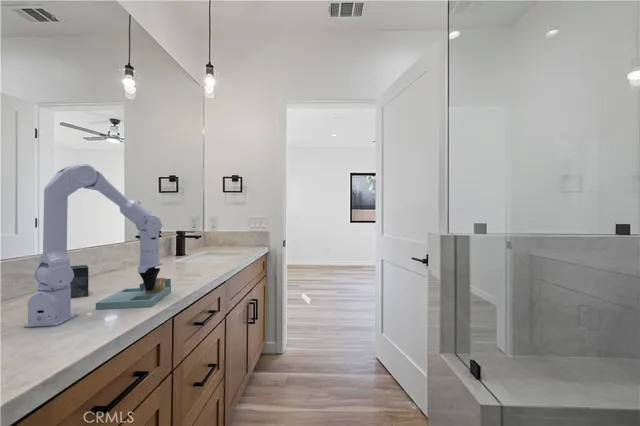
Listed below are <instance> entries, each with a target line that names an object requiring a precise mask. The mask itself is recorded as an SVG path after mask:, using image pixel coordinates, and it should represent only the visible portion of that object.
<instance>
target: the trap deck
mask: <svg viewBox="0 0 640 426" xmlns="http://www.w3.org/2000/svg"><path fill="white" fill-rule="evenodd" d="M171 280H172V278H165V289H164V290H162V291H161V292H146V293H145V285H144V282H143V281H142V282H141V283H139V287H131V288H129V287H128V288H123V289H121V290H119V291H117V292H115V293H113V294H110V295H109V296H107V297H105V298H103V299H101V300H99V301H97V302H95V310H98V311H99V310H115V309H116V310H117V309H134V308H137V309H138V308H152V307H153V306H155V305H156V304H157V303H159V302H160V301H162V300H163V299H164V298H165V297H166V296H168V295H169V294H170V293H171V292H172V281H171Z"/></svg>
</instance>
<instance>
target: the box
mask: <svg viewBox="0 0 640 426" xmlns="http://www.w3.org/2000/svg"><path fill="white" fill-rule="evenodd" d="M70 266H71V268H72V270H73V272H74V278H73V280H72V281H71V283H70V284H71V299H77V298H85V297H88V296H89V266H88V265H87V264H82V265H81V264H80V265H70Z"/></svg>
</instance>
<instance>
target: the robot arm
mask: <svg viewBox="0 0 640 426" xmlns="http://www.w3.org/2000/svg"><path fill="white" fill-rule="evenodd" d="M82 188H83V189H85V190H86V189H87V190H91V191H98V192H99V193H100V194H102V195H103V196H104V197H106V198H107V199H108V200H110V201H111V202H113V203H114V204H115V205H116V206H118V207H119V212H120V214H122V215H123V216H124V217H126V218H127V219H128V220H129V221H130V222H132V223H133V224H134V225H135V228H136V229H137V231H139V265H138V266H137V273H138V274H139V275H140V277H141V279H142V283H143V282H144V285H145V289H146V291H152V290H154V286H155V282H156V278H158V275H159V273H160V271H161V268H160V266H162V265H163V262H161V261H160V259H159V258H160V244H159V243H160V242H159V241H160V240H159V239H160V237H159V235H160V231H161V230H162V227H163V223H162V222H161V219H160V218H159V217H158V216H156V215H152V211H150V210H147V209H146V208H145V207H144V206H142V205H141V202H140V201H139V200H135V199H128V198H127V197H126V196H125V195H124V194H123V193H122V192H121V191H120V190H119V189H117V188H116V187H115V186H114V185H113V184H112V183H111V182H110V181H109V180H108V179H107V178H105V176H104V175H103V174H102V172H100V171H98V170H96V169H95V168H94V167H93V166H92V165H90V164H88V163H77V164H76V165H72V166H69V165H68V166H67V167H64V168H62V169H60V170H57V171H56V172H55V175H54V176H53V178H52V179H51V180H50V181H49V182H48V183H47V185H45V187H44V190H43V228H42V229H43V232H42V237H43V238H42V254H41V256H40V257H39V260H38V261H39V262H38V265H37V267H36V269H35V271H34V280H35V281H36V282H37V283H38V285H37V287H36V292H35V293H34V294H33V295H32V296H30V298H29V300H28V301H27V302H28V303H27V323H26V324H24V326H23V327H24V328H34V327H50V326H59V325H60V324H61V325H62V324H63V323H65V322H67V321H69V320H71V319H72V318H74V317H76V316H78V315H79V313H78V312H72V303H71V300H72V298H71V284H70V283H71V281H72V280H73V278H74V272H73V270H72V268H71V266H72V265H71V259H70V256H69V255H68V250H67V249H68V206H69V205H68V203H69V201H68V199H69V198H68V197H70V196H71V195H72V194H73V193H75V192H77V191H78V190H79V189H82Z"/></svg>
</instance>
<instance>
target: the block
mask: <svg viewBox="0 0 640 426" xmlns="http://www.w3.org/2000/svg"><path fill="white" fill-rule="evenodd" d="M165 279H166V278H165V277H157V278H156V282H155V286H154V290H152V291H146V289H145V293H146V292H161V291H162V290H164V289H165Z"/></svg>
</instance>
